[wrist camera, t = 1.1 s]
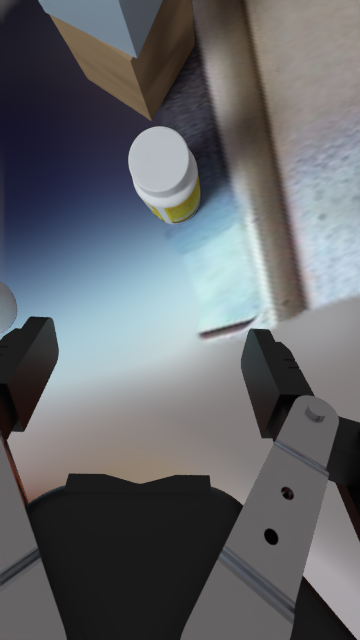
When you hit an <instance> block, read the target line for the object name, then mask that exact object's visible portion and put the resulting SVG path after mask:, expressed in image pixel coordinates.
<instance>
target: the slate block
mask: <svg viewBox="0 0 360 640" xmlns="http://www.w3.org/2000/svg"><path fill="white" fill-rule="evenodd" d="M162 1H163V0H39V2H40V4H41V5H42V7H43V9H44V10H45V12H46V13H48V14H50V15H52V16H54V17H56V18H58V19H60V20H62V21H64V22H66V23H68V24H70V25H72V26H74V27H76V28H78V29H80V30H82V31H84V32H86V33H87V34H89V35H91V36H93V37H95V38H97V39H99V40H101V41H103V42H105V43H107V44H109V45H111V46H113V47H115V48H117V49H119V50H121V51H123V52H125V53H127V54H129V55H131V56H133V57H135V58H138V56H139V54H140V51H141V49H142V47H143V45H144V42H145V40H146V38H147V35H148V33H149V31H150V28H151V26H152V24H153V22H154V19H155V17H156V15H157V12H158V10H159V8H160V6H161V3H162Z"/></svg>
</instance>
